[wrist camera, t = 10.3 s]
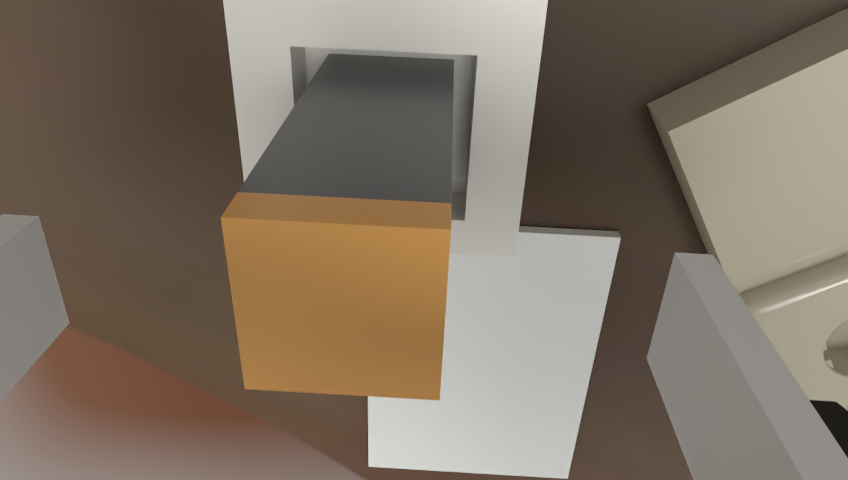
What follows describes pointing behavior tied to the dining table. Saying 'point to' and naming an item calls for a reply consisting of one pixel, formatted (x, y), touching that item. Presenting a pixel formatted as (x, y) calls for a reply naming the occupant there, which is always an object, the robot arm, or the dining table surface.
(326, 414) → the dining table surface
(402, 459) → the tray
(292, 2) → the socket strip
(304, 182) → the plug
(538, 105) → the dining table surface
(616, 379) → the dining table surface
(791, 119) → the electrical outlet
